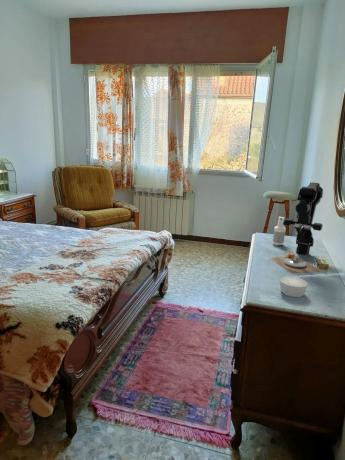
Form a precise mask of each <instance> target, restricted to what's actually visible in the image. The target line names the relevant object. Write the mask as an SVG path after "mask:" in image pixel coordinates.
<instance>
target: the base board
mask: <svg viewBox="0 0 345 460" xmlns="http://www.w3.org/2000/svg"><path fill="white" fill-rule="evenodd" d="M295 258H297V259H300V260H303V261H305V262H306V267H304V268H296V267H291V266H288V265H286V264H285V263H284V260H285V259H286V256H280V257H279V256H278V257H269V259H270V260H271V261H272V262H274V263H276V264H278V265H279V266H280V267H281V268H283V269H285V270H286V271H287V272H289V274H290V273H291V274H307V273H308V274H309V273H323V272H324V270H321V269H320V268H318V267H317V266H314V265H313V264H312V263H309V262H308V261H307V260H304V259H302V258H300V257H299V256H295Z"/></svg>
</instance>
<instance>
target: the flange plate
mask: <svg viewBox="0 0 345 460" xmlns="http://www.w3.org/2000/svg"><path fill="white" fill-rule="evenodd" d="M288 254H290V257H289V258H286V259H285V260H284V263H285V264H286V265H288V266H291V267H296V268H304V267H306V262H307V261H306V260H304V259H303V260H304V261H303V260H300V259H297V258H295V257H296V254H295V253H294V252H293V251H288ZM305 261H306V262H305Z"/></svg>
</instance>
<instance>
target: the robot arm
mask: <svg viewBox="0 0 345 460" xmlns="http://www.w3.org/2000/svg"><path fill="white" fill-rule="evenodd" d="M297 194H298V195H297V199H296V200H297V201H299V203H297V204H296V205H295V211H296V213H297V214H296V219H297V221H296V220H294V219H293V218H288V217H286V218H284V222H283V225H284V226H287V227H289V226H291V225H294V227H293V229H295V230H296V239H295V244H296V245H297V246H296V250H295V253H296V254H297V255H302V256H307V255H309V254H310V252H311V251H310V250H311V247H314V240H315V239H314V236H313V232H312V229H313V231H322V229H323V227H324V224H323V223H319V222H314V223H313V221H314V216H315V212H316V207H317V206H318V205H319V203H321V199H323V197H324V189H323V187H321V184H320V183H318V182H310V183H309V184H308V185H307V186H302V187H301V188H300V189H299V191H298V193H297Z"/></svg>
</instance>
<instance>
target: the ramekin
mask: <svg viewBox="0 0 345 460" xmlns="http://www.w3.org/2000/svg"><path fill="white" fill-rule="evenodd" d="M279 284H280V291H281V293H282V292H283V294H284V295H285V296H287V295H288V297H290V298H301V297H303V296H305V293H306V292H307V288H308V287H309V283H308V282H307V281H306V280H305V279H302V278H299V277H295V276H282V277H281V278H280V279H279Z"/></svg>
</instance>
